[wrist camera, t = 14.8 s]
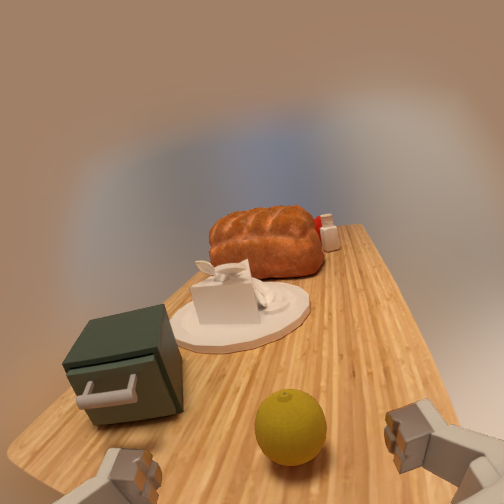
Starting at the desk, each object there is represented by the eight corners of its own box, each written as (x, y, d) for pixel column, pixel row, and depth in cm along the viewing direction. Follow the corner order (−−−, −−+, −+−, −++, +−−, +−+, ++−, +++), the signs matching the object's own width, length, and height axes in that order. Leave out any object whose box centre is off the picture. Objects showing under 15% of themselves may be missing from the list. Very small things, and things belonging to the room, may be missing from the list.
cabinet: (183, 411, 31) (157, 346, 29) (94, 424, 29) (61, 363, 27) (182, 358, 43) (164, 303, 41) (111, 372, 41) (89, 319, 39)
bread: (317, 278, 64) (305, 204, 61) (207, 284, 75) (192, 221, 72) (327, 258, 77) (317, 196, 73) (231, 265, 87) (220, 211, 84)
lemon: (293, 493, 19) (278, 432, 17) (252, 459, 23) (230, 395, 21) (342, 454, 22) (339, 387, 20) (298, 427, 26) (287, 362, 24)
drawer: (176, 439, 26) (150, 383, 24) (87, 449, 24) (54, 397, 23) (176, 362, 41) (160, 316, 39) (110, 374, 39) (91, 331, 37)
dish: (295, 354, 39) (281, 272, 36) (143, 348, 48) (121, 285, 45) (319, 283, 61) (310, 227, 59) (206, 291, 70) (195, 243, 68)
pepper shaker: (326, 252, 81) (321, 217, 79) (322, 249, 85) (316, 215, 83) (340, 249, 82) (335, 214, 79) (335, 246, 86) (330, 212, 83)
